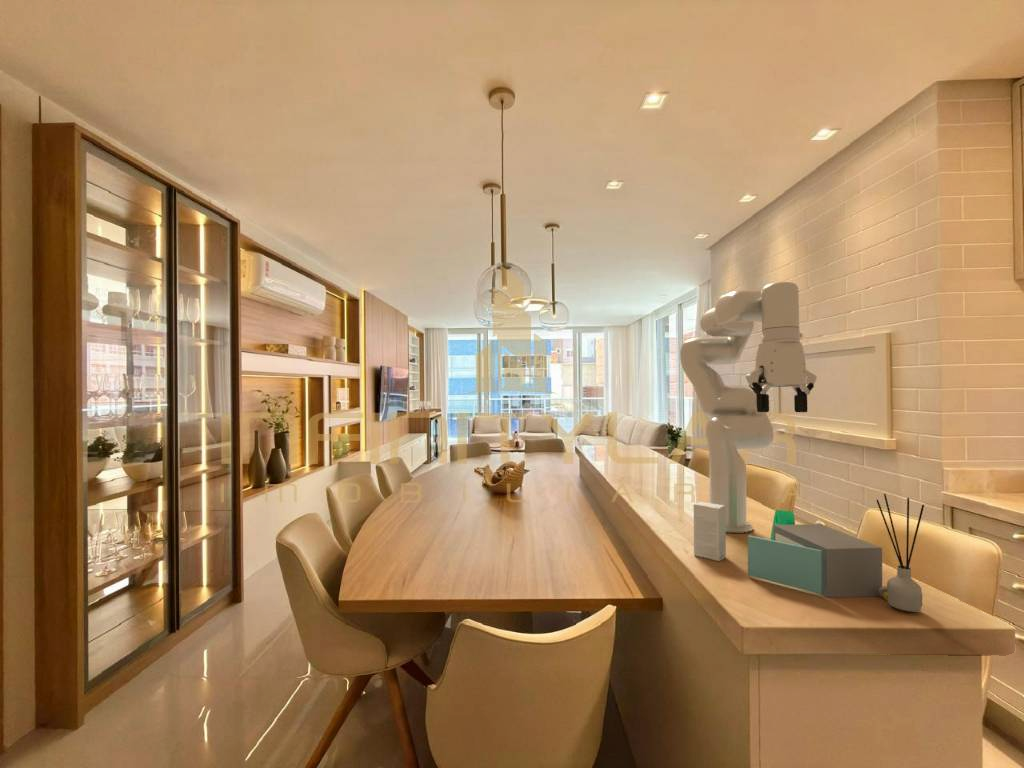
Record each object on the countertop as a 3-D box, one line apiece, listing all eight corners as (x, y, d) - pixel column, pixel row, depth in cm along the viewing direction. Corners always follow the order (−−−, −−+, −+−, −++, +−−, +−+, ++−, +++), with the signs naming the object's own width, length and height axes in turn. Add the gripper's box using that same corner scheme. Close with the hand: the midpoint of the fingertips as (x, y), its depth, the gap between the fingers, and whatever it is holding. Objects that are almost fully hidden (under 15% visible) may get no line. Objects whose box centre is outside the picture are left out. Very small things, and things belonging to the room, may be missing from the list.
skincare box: (726, 557, 111) (726, 505, 111) (719, 562, 108) (719, 508, 108) (700, 551, 115) (700, 501, 115) (692, 555, 112) (692, 504, 112)
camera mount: (822, 565, 106) (821, 519, 106) (783, 562, 108) (783, 516, 108) (805, 548, 118) (805, 506, 118) (770, 545, 120) (770, 504, 120)
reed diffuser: (941, 622, 80) (940, 501, 80) (899, 622, 80) (899, 501, 80) (892, 596, 90) (891, 489, 90) (855, 596, 90) (855, 489, 90)
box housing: (772, 566, 105) (772, 525, 105) (820, 565, 106) (820, 524, 106) (826, 597, 89) (825, 548, 89) (882, 595, 90) (882, 547, 90)
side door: (822, 593, 90) (822, 550, 90) (821, 594, 89) (821, 551, 89) (749, 574, 99) (749, 535, 99) (748, 575, 99) (747, 536, 99)
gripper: (801, 340, 115) (803, 412, 114) (736, 338, 112) (737, 411, 111) (826, 336, 108) (828, 412, 107) (757, 333, 105) (759, 412, 104)
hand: (782, 412), depth 109 cm, fingers open, 9 cm apart
